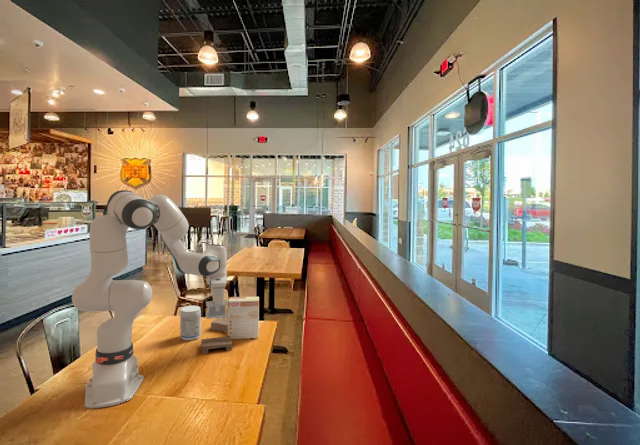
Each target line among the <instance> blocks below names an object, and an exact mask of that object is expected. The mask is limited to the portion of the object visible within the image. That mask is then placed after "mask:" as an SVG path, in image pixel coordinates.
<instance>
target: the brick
mask: <svg viewBox="0 0 640 445" xmlns="http://www.w3.org/2000/svg"><path fill="white" fill-rule="evenodd" d="M210 328H211V330H213V331H216V330H219V331H218V332H222V331H227V332H226V333H228V318H227V317H221V318H214V319H213V321H211V322H210Z"/></svg>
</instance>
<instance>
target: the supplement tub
mask: <svg viewBox="0 0 640 445" xmlns="http://www.w3.org/2000/svg"><path fill="white" fill-rule="evenodd" d="M179 313H180V314H179V320H180V321H179V322H180V332H179V333H180V335H179V336H180V339H182V340H183V341H194V339H195V340H197V339H199V338H200V337H201V334H202V328H201V327H202V322H201V321H202V319H201V318H202V311H201V306H199V305H186V306H183V307H181V308H180V311H179Z"/></svg>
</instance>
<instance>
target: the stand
mask: <svg viewBox="0 0 640 445" xmlns="http://www.w3.org/2000/svg"><path fill="white" fill-rule="evenodd" d="M200 342H201V351H202V352H201V353H202V355H203V354H204V355H205V354H209V350H213V349H221V348H225V350H226V351H232V350H233V342H232V339H231V338H230V336H228V335H227V336H226V335H225V336H218V337H210V338H202V339H201V340H200Z"/></svg>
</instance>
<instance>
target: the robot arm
mask: <svg viewBox="0 0 640 445" xmlns="http://www.w3.org/2000/svg"><path fill="white" fill-rule="evenodd" d="M103 213H104V215H99V216H96V217H95V218H94V219H93V220H91V223H90V226H89V234H88V235H89V238H88V241H89V250H90V251H89V253H90V270H89V271H90V272H89V273H88V276H87V277H86V279H85V280H83V281H82V282H81V283H79V284H78V285H77V286H76V287H75V288H74V290H73V292H72V294H71V302H72V305H73V306H74V308H75V309H76V310H78V311H82V312H91V313H96V312H98V313H99V312H114V315H113V317H111V318H108V319H106V320H105V321H104V322H102V323H101V324H100V325H99V326H98V327H97V330H96V350H95V356H94V357H95V359H94V360H95V361H94V362H92V363H91V366H92V377H90V379H89V382H87V383H86V384H85V389H84V390H85V393H84V394H85V395H84V407H85V408H86V409H99V408H100V409H101V408H107V407H111V406H117V405H120V403H121V404H124V403H126V402H125V401H127V402H129V401H131V400H132V399H133V397H134V396H135V394H136V393H137V391H138V389H139V387H140V386H141V384H142V382H143V381H144V379H145V378H144V375H142V374H139V361H138V360H139V359H138V357H137V356H135V354H134V345H133V342H132V338H133V337H132V332H133V323H134V321H135V320H136V317H137V315H138V314H139V313H140V312H141V311H143V309H145V308H146V307H148V305H149V304H150V303H151V301H152V298H153V294H154V292H153V289H152V286H151V285H150V283H149V282H148V281H145V280H139V279H119V280H117V279H113V278H112V277H113V276H115V275H118V274H120V273H121V272H123V271H124V270H126V268H127V266H128V265H129V264H128V263H129V257H128V256H129V255H128V246H127V245H128V244H127V239H126V238H127V232H128V229H129V228H130V229H133V230H144V229H146V228H150V227H151V226H152V225H153V226H154V227H155V228H156V230H157V231H158V233H159V234H160V237H161V240H162V242H163V244H164V246H165V247H166V248H167V250H168V251H169V253H170V255H171V256H172V258H173V261H174V264H175V267H176V269H177V271H178V273H180V274H182V275H183V274H184V275H193V276H198V277H206V284H207V285H208V286H209V287H210V291H211V296H212V301H214V305H215V311H219V310H220V305H222V304H223V300H225V288H226V286H227V283H228V270H227V265H228V253H227V249H226V246H224V245H222V244H214V243H211V244H208V245H207V248H206V249H205V250H203V251H202V252H194V251H190V250H189V249H187V248H186V247H185V244H184V243H183V242H182V239H183V238H184V237H185V236H186V235H187V233H188V231H189V226H190V224H189V221H188V219H187V218H186V216H185V215H184V214H183V212H182V210H181V209H180V208H179V207H178V205H176V203H175V202H174V201H173V200H172V199H171V198H170V197H168V196H167V195H164V194H157V195H154V196H152V197H151V198H149V199H146V198H144V197H142V196H141V195H140V194H137V193H135V192H133V191H130V190H124V189H121V190H117V191H115V192H113V193H112V194H111V195H110V196H109V198H108V200H107V203H106V205H105V207H104V210H103ZM133 395H134V396H133ZM131 398H132V399H131ZM130 399H131V400H130ZM128 400H129V401H128ZM123 402H124V403H123Z"/></svg>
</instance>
